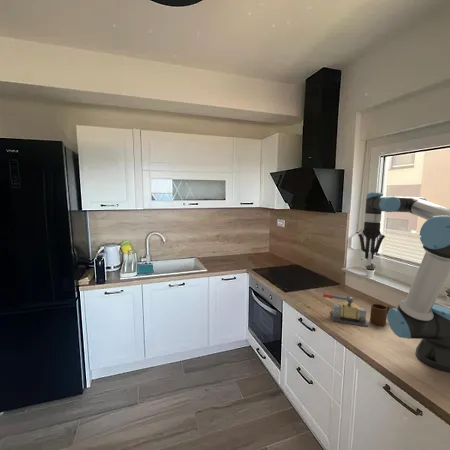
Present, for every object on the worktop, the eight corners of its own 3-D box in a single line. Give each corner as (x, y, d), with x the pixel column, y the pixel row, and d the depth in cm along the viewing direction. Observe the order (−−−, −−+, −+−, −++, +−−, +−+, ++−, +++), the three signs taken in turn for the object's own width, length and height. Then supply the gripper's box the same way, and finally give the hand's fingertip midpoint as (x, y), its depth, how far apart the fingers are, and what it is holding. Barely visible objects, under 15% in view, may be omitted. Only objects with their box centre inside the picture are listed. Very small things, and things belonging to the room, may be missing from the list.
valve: (367, 326, 136) (369, 307, 134) (333, 321, 140) (335, 303, 139) (362, 316, 147) (364, 299, 146) (330, 311, 152) (332, 295, 150)
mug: (381, 317, 147) (383, 301, 146) (394, 323, 140) (396, 307, 139) (366, 320, 142) (368, 304, 141) (379, 327, 135) (381, 310, 134)
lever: (353, 299, 143) (353, 296, 143) (353, 302, 140) (354, 299, 140) (323, 295, 149) (323, 292, 149) (323, 297, 146) (323, 294, 145)
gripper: (383, 221, 139) (379, 264, 141) (357, 220, 142) (353, 262, 144) (388, 222, 132) (384, 267, 134) (361, 221, 134) (357, 265, 137)
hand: (368, 264), depth 139 cm, fingers closed
